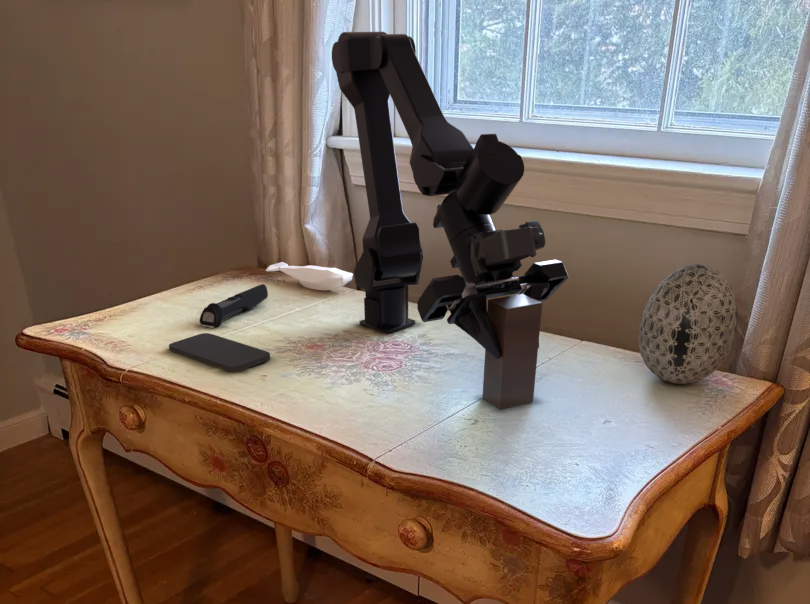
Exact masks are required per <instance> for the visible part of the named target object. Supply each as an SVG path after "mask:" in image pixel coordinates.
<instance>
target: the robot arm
mask: <svg viewBox="0 0 810 604" xmlns="http://www.w3.org/2000/svg"><path fill="white" fill-rule="evenodd" d="M332 44H333V45H332V46H331V63H332V66H333V69H334V71H335V73H336V74H335V75H336V78H337V82H338V87H339V89H340V91H341V92H342V94H343V95H344V97H345V98H346V99H347V101H348V102H349V103H350V105H351V106H352V108H353V110H354V115H355V116H354V117H355V123H356V130H357V137H358V144H359V151H360V158H361V164H362V171H363V177H364V178H363V179H364V185H365V192H366V198H367V206H368V213H369V220H368V223H367V226H366V227H365V231H364V233H363V236H362V254H361V255H360V257H359V259H358V261H357V263H356V265H355V267H354V269H353V276H354V281H355V282H354V283H355V285H356V286H357V287H359V288H361V289H362V290H364V291H365V292H364V294H365V297H364V298H363V301H364V302H363V309H364V310H363V311H364V319H361V320H359V321H358V322H359V325H360V326H363V327H366V328H369V329H373V330H376V331H379V332H382V333H385V334H390V333H393V332H396V331H399V330H402V329H405V328H407V327H411V326H413V325H416V320H415V319H412V318H409V286H416V285H419V280H420V275H421V270H422V267H423V260H424V255H423V248H422V243H421V241H420V228H419V226H418V224H417V222H411V220H410V219H409V218H408V217H407V216H406V214H405V213H404V210H403V202H402V201H403V200H402V193H401V187H400V178H399V172H398V164H397V156H396V149H395V142H394V141H395V140H394V134H393V126H392V119H391V112H390V103H389V100H390V98H391V100H392V102H393V104H394V107H395V109H396V111H397V114H398V115H399V118H400V120H401V122H402V124H403V126H404V128H405V131H406V133H407V136H408V139H409V140H410V143H411V146H412V149H411V152H410V157H409V165H410V169H411V172H412V178H413V180H414V183H415V185H416V186H417V189H418V191H419V192H420V193H421V194H422V195H423V196H427V197H435V196H445V197H444V199H443V200H442V202H441V204H437V206H436V213H435V215H434V216H433V222H432V227H433V228H434V229H440V228H443V230H444V233H445V234H446V238H447V241H448V243H449V245H450V249H451V251H452V254H453V256H452V258H451V259H450V260H449V261H450V265H451V268H452V269H459V272H460V274H461V275H459V274H453V275H446V276H439V277H434V278H433V277H432V278H431V280H430V282H429V283H428V285H427V286H426V288H425V289H424V291H423V292H422V293H421V295H420V297H419V298H418V299H417V308H416V309H417V311H418V314H419V317H420V320H421V322H423V323H429V322H434V321H439V320H440V321H441V320H444V318H445V317H446V314H447V313H448V310H449V313H450V315H449V316H448V317H447V319H446V322H447V324H449V325H455V326H457V327H458V328H459V329H461V330H462V331H463V332H464V333H466V334H467V335H469V336H470V337H471V338H472V339H473V340H474V341H476V342H477V344H479V345H480V346H481V347H482V348H483V349H484V350H485V349H486V350H487V351H488V352H489V353H490V354H491V355H492V356H493V357H494V358H496V359H499V358H500V357H501V356H502V351H501V347H500V344H499V341H498V338H497V336H496V333H495V331H494V328H493V326H492V323H491V320H490V318H489V315H488V313H487V310H488V300H487V299H493V298H499V297H505V296H513V295H519V294H524V295H526V296H528V297H531V298H533V299H535V300H537V301H540V302H542V303H543V302H544V301H546V300H548V299H550V297H552V296H553V295H554V293H555V292H556V291H557V290H559V288H560V287H561V286H562V285H563V284H564V283H565V282H566V281H567V280H568V279H569V278H570V276H569V274H568V271H567V270H566V269H567V268H566V266H565V264H564V263H563V261H561V260H558V259H550V260H544V261H538V262H533V263H532V264H531V266H530V267H529V268H528V269H527V270H526V271H525V272H524V274H523V275H517V276H514V274H513V273H514V272H517V271H519V269H520V268H521V267H522V266H523V265H522V262H521V261H523V260H526V259H527V258H529V257H530V258H534V257H536V256H537V251H538V250H541V249H543V248H545V246H546V236H545V231H544V229H543V227H542V225H541V223H540V221H539V220H538V219H536V220H528V221H525V222H524V223H521V224H519V226H518V227H517V228H512V229H504V230H503V229H496V228H495V225H494V223H493V221H492V218H491V215H493V214H496V213H497V212H498V211H499V210H500V209H501V208H502V206H503V205H504V203H505V202H506V201H507V199H508V198H509V196H510V195H511V193H513V191H514V190H515V188H516V187H517V185H518V184H519V182H520V181H521V179H522V178H523V176H524V174H525V163H524V159H523V158H522V155H520V154H518V152H517V151H516V150H515V149H514V148H513V147H512V146H511V145H509V144H507V143H504V142H502V141H500V140H499V137H498V135H497V133H481V134H480V135H479V137H478V139H477V140H476V143H475V144H474V145H475V146H474V147H473V145H472V144H471V142H470V141H469V140H468V138H467V136H466V135H465V134H464V132H463V131H462V130H460V129H459V128H458V127H456V126H455V125H453V124H451V123H450V122H449V121H448V120H447V118H446V117H445V115H444V113H443V110H442V109H441V106H440V104H439V102H438V100H437V98H436V96H435V94H434V90H433V89H432V87H431V85H430V83H429V80H428V78H427V76H426V74H425V71H424V70H423V68H422V66H421V63H420V61H419V59H418V56H417V55H416V54H417V50H416V43H415V40H414V38H413V37H412V36H409V35H407V34H405V33H391V34H390V33H387V32H385V31H343V32H341V33H340V34H339V36H338V39H337V41H335V42H334V43H332ZM447 307H448V308H447ZM539 348H540V342H539V343H538V349H539Z"/></svg>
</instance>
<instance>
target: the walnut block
mask: <svg viewBox="0 0 810 604" xmlns="http://www.w3.org/2000/svg"><path fill="white" fill-rule="evenodd" d="M542 310H543V301H542V302H540V301H537V300H535V299H533V298H531V297H528V296H526V295H524V294H519V295H513V296H510V295H506V296H501V297H495V298H489V299H487V313H488V315H489V318H490V320H491V323H492V326H493V328H494V331H495V333H496V336H497V338H498V341H499V344H500V347H501V351H502V356H501V357H500V358H499V359H496V358H494V357H493V356H492V355H491V354H490V353H489V352H488V351H487V350H486V349H485V348H484V366H483V380H482V381H483V383H482V399H483V400H485V401H486V402H487V403H489V404H490V405H492V406H494V407H495V408H496V409H498V410H504V409H509V408H513V407H518V406H522V405H526V404H531V403H533V402H534V395H535V385H536V376H537V375H536V374H537V363H538V354H539V353H538V352H539V348H538V343H539V344H540V333H541V332H540V331H541V322H542Z"/></svg>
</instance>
